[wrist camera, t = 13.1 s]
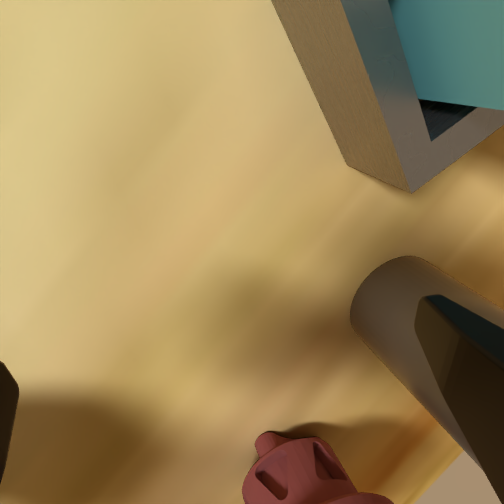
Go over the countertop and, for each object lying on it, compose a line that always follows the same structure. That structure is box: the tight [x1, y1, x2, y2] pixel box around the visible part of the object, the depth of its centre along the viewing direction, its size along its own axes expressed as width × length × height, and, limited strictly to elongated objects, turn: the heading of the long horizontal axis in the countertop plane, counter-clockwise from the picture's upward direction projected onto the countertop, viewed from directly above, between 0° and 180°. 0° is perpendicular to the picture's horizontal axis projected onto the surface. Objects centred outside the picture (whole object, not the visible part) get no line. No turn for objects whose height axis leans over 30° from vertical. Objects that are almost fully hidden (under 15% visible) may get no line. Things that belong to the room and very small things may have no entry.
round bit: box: [350, 256, 504, 470], centre depth 21 cm, size 7×7×13 cm
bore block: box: [271, 0, 504, 194], centre depth 16 cm, size 9×9×5 cm
